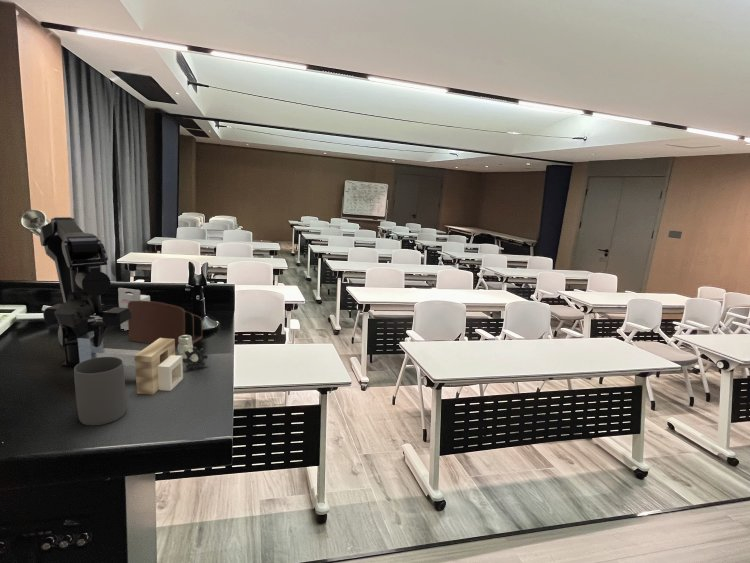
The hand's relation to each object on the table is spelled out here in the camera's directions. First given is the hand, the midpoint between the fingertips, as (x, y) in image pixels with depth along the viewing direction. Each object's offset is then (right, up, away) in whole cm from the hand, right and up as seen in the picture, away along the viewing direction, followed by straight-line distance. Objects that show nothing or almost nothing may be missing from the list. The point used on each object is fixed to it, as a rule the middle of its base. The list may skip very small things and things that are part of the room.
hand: (91, 346), depth 109 cm
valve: (+18, -7, +15) cm, 25 cm away
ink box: (-10, 0, +38) cm, 39 cm away
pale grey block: (+7, -6, +1) cm, 9 cm away
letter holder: (+4, -3, +31) cm, 31 cm away
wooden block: (+16, -10, +2) cm, 19 cm away
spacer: (+19, -10, +2) cm, 22 cm away
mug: (+10, -13, -12) cm, 20 cm away
